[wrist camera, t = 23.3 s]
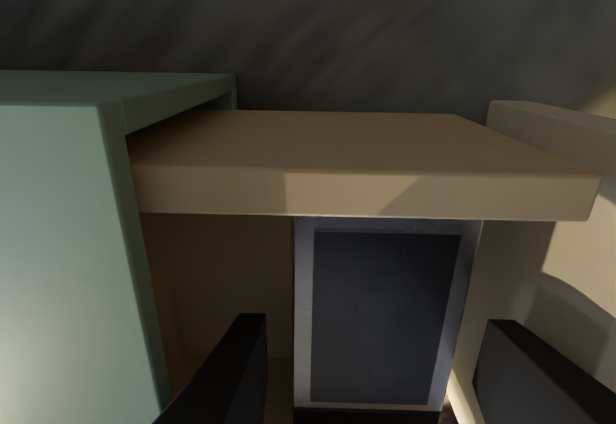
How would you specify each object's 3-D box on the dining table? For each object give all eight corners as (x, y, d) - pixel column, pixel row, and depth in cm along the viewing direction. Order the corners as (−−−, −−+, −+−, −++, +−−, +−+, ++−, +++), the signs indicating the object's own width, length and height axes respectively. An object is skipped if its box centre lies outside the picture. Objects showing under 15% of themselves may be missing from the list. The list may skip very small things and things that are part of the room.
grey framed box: (436, 169, 11) (488, 218, 8) (408, 346, 14) (438, 438, 10) (298, 166, 11) (290, 213, 8) (297, 343, 14) (291, 433, 10)
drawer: (678, 103, 11) (1105, 158, 5) (572, 370, 15) (736, 571, 9) (131, 93, 11) (-77, 135, 5) (176, 359, 16) (88, 549, 10)
